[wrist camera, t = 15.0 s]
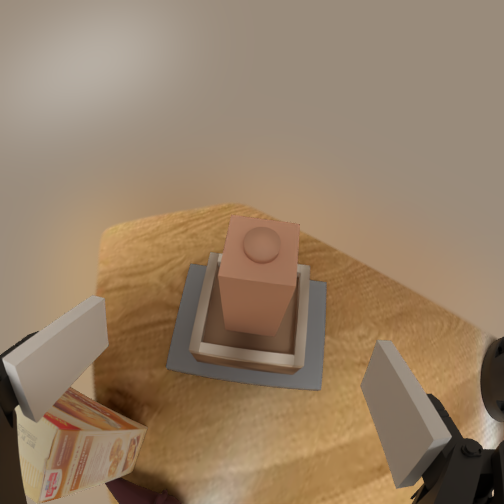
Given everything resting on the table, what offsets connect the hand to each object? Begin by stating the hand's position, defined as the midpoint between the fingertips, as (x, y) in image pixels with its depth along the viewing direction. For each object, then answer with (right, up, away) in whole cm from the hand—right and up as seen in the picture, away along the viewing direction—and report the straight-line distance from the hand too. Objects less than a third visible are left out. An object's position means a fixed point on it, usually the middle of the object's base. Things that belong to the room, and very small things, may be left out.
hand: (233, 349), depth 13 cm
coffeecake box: (-19, -17, +15) cm, 30 cm away
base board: (+1, -5, +23) cm, 23 cm away
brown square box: (+1, -4, +22) cm, 22 cm away
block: (+1, -2, +17) cm, 18 cm away
